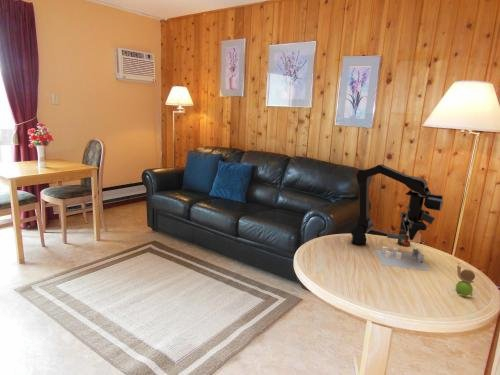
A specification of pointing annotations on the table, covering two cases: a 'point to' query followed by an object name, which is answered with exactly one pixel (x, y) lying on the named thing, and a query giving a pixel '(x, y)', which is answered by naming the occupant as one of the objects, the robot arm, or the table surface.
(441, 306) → the table surface
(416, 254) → the bracket
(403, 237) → the plug
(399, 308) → the table surface
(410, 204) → the robot arm
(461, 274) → the snail figurine
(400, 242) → the deodorant
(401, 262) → the board
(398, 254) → the clips
